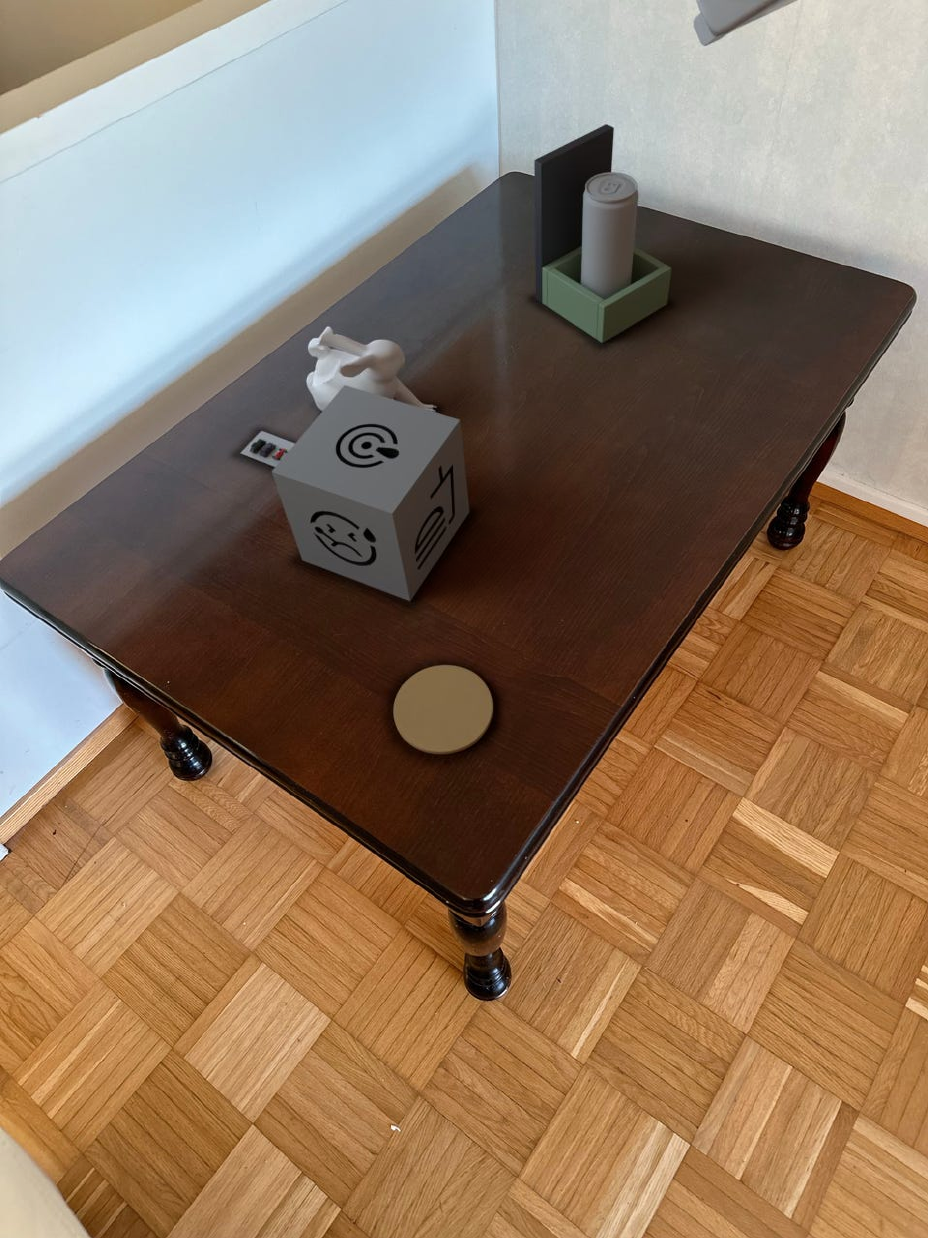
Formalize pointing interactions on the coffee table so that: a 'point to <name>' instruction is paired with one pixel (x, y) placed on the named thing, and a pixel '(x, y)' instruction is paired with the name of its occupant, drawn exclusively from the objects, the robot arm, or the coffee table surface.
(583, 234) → the beverage can
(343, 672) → the coffee table surface
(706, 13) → the robot arm
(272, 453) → the toy car tray
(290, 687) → the coffee table surface
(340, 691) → the coffee table surface
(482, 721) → the coaster
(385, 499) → the icon cube
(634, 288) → the stand
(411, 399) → the rabbit figurine
